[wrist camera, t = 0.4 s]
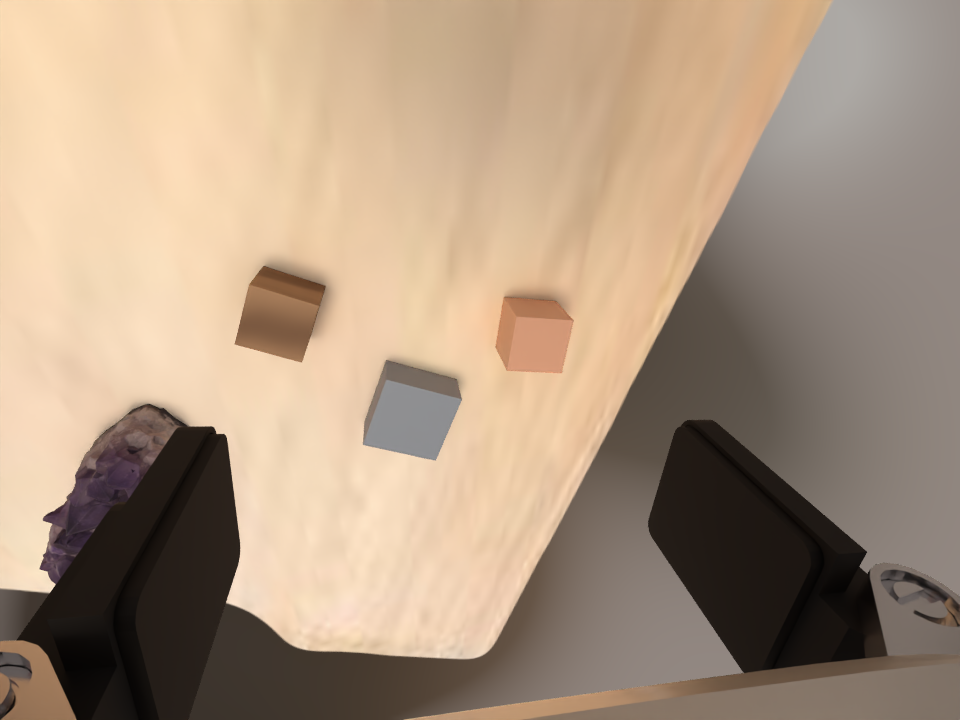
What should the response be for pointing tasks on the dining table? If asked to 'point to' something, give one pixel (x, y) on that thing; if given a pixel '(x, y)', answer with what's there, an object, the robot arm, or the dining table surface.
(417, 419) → the blue-grey square box
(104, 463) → the geode
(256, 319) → the walnut cube
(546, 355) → the terracotta cube
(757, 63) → the dining table surface
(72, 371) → the dining table surface
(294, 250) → the dining table surface
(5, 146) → the dining table surface
